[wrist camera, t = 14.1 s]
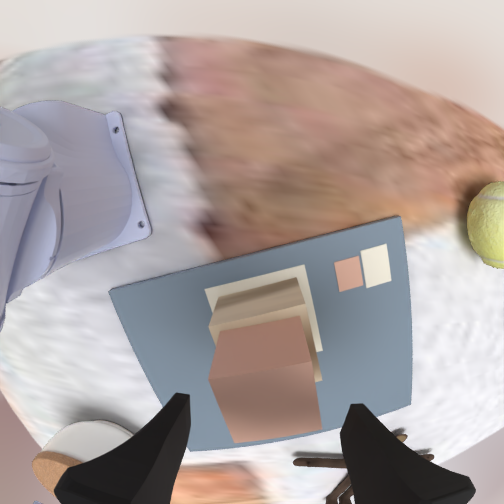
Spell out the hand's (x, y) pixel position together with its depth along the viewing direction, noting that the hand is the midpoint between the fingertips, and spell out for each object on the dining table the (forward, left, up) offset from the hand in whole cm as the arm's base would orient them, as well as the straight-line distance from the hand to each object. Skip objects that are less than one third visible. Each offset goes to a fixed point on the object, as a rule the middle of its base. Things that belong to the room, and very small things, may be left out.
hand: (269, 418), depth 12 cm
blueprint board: (+4, 0, -10) cm, 11 cm away
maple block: (0, 0, -10) cm, 10 cm away
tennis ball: (-3, +19, -11) cm, 22 cm away
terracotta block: (0, 0, -5) cm, 5 cm away
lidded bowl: (+12, -20, -11) cm, 26 cm away
